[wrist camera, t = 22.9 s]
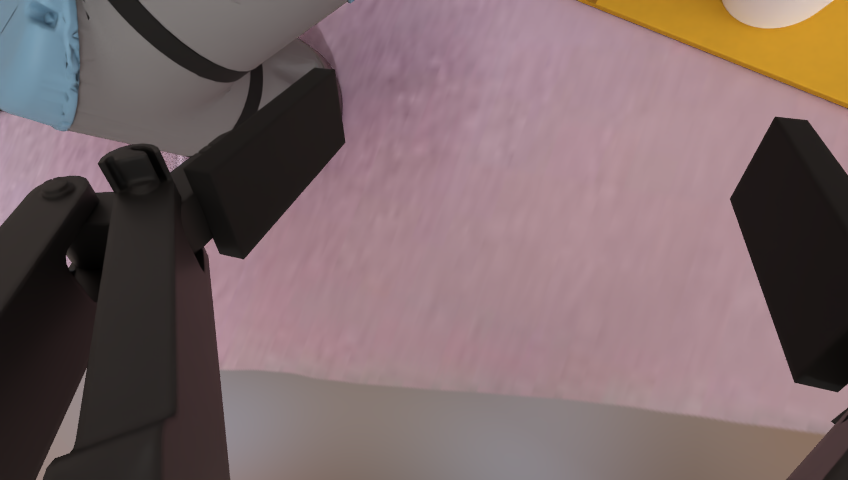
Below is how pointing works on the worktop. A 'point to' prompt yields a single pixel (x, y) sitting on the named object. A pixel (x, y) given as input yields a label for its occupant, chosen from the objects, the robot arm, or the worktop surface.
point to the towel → (754, 40)
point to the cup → (773, 11)
